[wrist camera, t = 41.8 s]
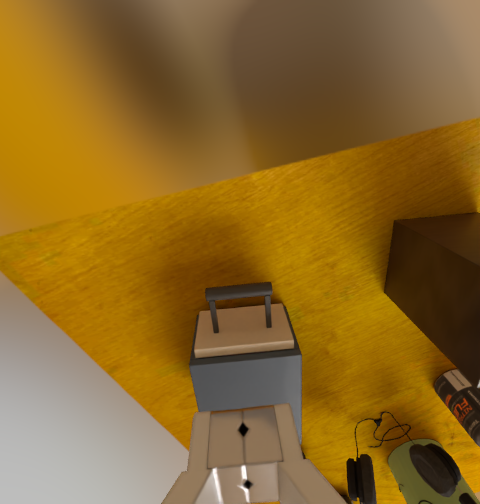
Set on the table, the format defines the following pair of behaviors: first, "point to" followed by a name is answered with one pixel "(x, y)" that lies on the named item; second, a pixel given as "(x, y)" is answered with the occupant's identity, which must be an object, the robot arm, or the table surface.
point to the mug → (412, 485)
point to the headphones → (423, 459)
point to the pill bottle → (461, 400)
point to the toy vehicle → (347, 500)
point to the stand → (440, 283)
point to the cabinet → (249, 380)
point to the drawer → (242, 324)
